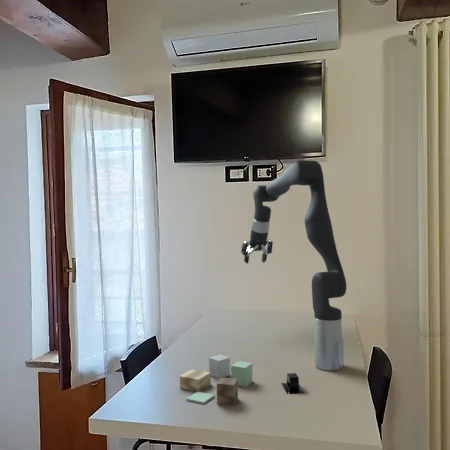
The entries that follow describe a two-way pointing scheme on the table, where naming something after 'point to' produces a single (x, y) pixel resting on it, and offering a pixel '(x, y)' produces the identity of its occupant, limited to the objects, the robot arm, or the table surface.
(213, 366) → the grey block
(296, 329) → the table surface
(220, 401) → the walnut block
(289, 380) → the black piece
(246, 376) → the green block
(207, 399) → the tile
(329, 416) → the table surface
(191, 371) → the maple base
